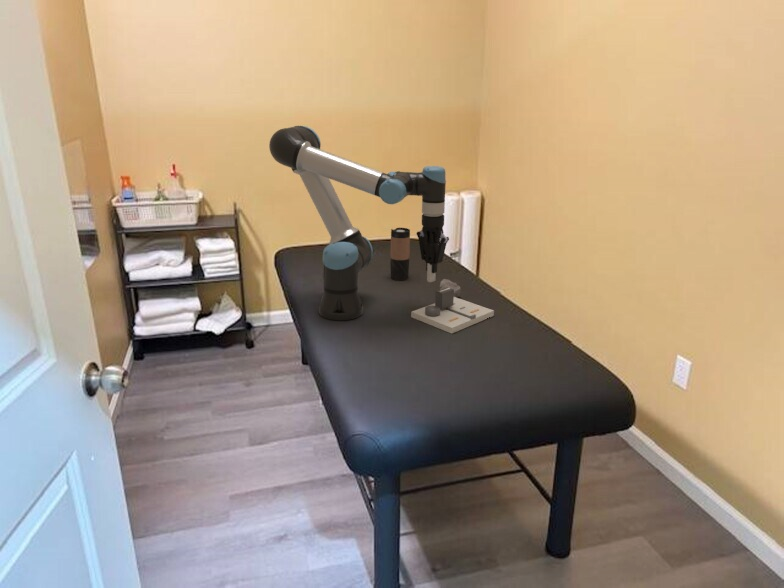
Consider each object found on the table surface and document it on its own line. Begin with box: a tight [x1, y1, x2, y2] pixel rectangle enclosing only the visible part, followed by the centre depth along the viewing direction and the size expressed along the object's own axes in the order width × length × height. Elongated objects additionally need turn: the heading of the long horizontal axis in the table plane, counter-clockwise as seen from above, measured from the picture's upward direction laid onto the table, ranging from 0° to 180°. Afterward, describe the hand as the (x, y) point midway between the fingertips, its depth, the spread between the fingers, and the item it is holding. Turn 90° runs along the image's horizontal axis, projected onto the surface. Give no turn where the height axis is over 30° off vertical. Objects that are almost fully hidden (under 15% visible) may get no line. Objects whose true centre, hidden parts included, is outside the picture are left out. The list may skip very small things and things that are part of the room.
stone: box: [439, 278, 462, 298], centre depth 212 cm, size 8×10×6 cm
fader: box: [434, 287, 454, 310], centre depth 195 cm, size 6×3×6 cm, turn 134°
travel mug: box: [389, 227, 411, 282], centre depth 229 cm, size 8×8×20 cm
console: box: [410, 297, 495, 334], centre depth 194 cm, size 22×18×4 cm
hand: (431, 280), depth 198 cm, fingers closed
